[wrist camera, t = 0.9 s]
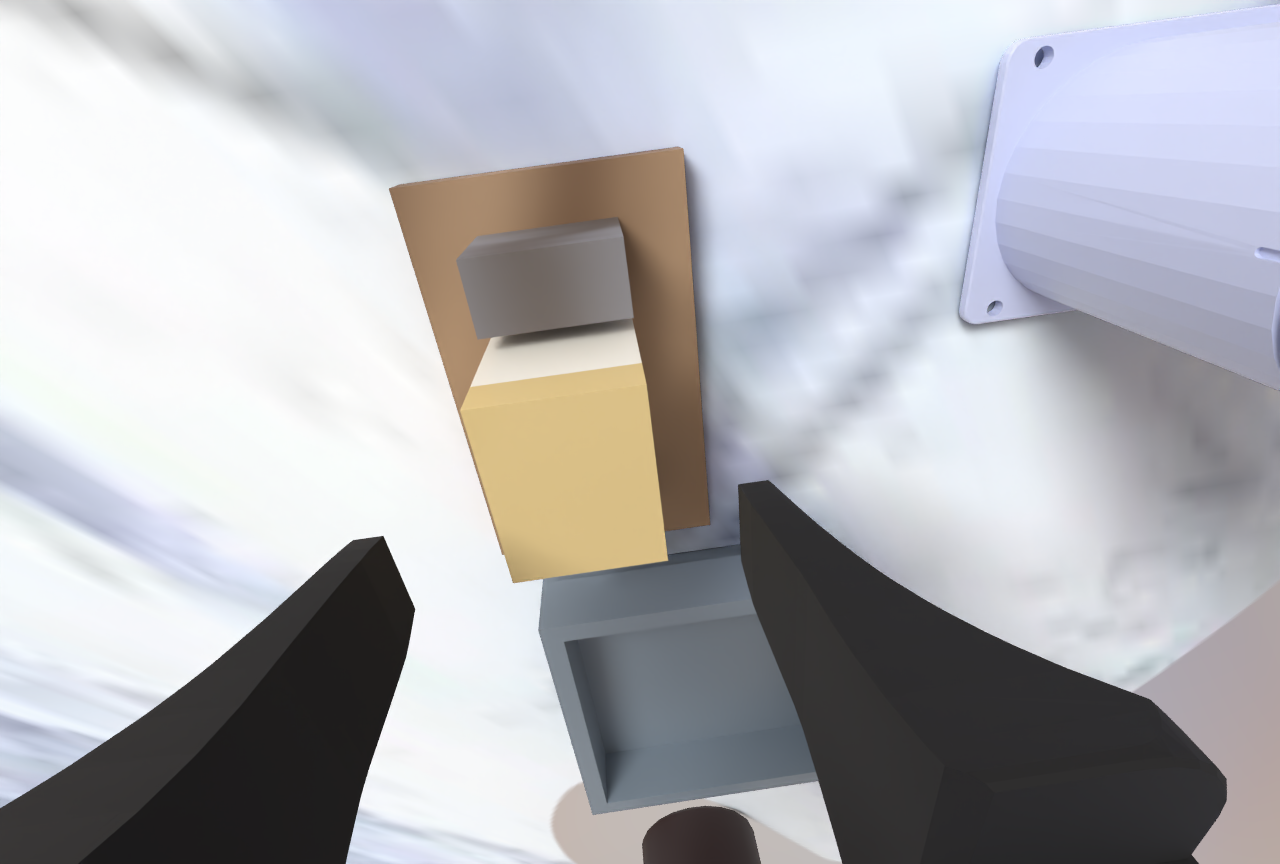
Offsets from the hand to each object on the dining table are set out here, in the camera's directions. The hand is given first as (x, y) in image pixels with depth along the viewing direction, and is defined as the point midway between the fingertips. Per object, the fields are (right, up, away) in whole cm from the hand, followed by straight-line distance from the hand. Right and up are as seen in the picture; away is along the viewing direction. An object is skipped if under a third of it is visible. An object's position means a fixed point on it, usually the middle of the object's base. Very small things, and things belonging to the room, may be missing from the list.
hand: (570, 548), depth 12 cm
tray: (+4, -8, +15) cm, 18 cm away
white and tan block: (-1, +4, +7) cm, 8 cm away
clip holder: (-1, +4, +8) cm, 9 cm away
